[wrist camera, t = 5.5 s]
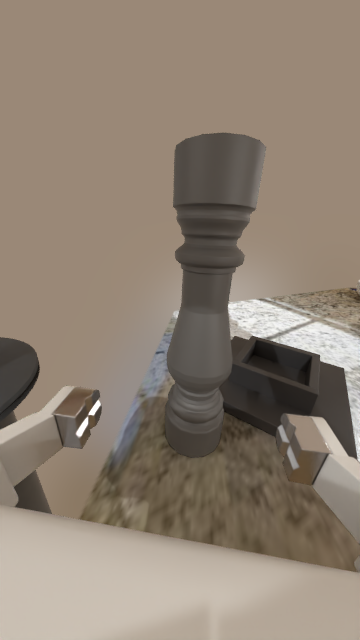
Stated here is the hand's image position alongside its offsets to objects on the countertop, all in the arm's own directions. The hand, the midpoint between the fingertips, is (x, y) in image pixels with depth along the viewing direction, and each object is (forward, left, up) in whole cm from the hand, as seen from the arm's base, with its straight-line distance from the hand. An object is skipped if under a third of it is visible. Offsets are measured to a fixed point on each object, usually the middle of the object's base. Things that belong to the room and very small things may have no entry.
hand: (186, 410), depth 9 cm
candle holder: (-4, +9, -13) cm, 16 cm away
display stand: (+2, +22, -13) cm, 26 cm away
